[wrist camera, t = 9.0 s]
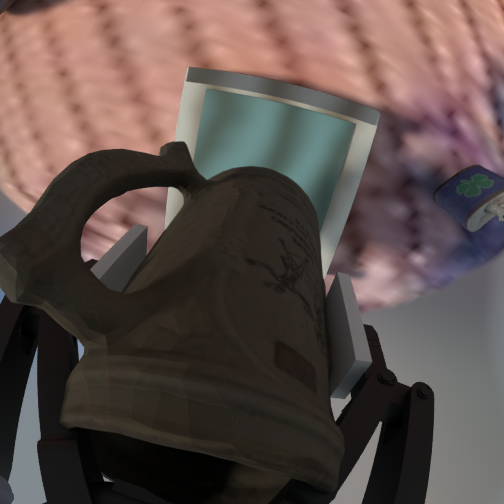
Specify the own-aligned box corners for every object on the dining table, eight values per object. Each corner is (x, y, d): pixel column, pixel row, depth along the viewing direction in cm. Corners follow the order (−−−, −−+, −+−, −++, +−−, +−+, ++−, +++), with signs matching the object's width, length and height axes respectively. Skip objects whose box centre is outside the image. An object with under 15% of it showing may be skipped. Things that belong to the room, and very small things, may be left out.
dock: (370, 111, 29) (388, 114, 24) (317, 272, 40) (321, 302, 34) (198, 71, 29) (179, 66, 24) (173, 238, 40) (155, 262, 34)
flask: (436, 207, 34) (477, 244, 24) (429, 188, 33) (471, 221, 23) (485, 177, 30) (532, 206, 21) (480, 158, 29) (529, 183, 20)
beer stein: (349, 247, 24) (405, 506, 6) (251, 310, 28) (195, 526, 10) (224, 97, 20) (-51, 93, 2) (135, 187, 24) (-63, 330, 6)
